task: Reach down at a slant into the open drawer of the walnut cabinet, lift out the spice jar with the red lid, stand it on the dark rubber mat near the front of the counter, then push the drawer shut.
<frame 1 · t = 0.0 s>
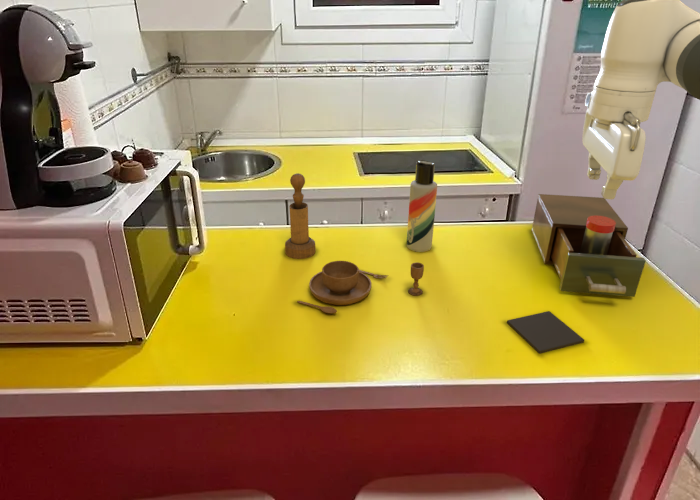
hand: (599, 187, 89), 22 cm above the counter, tool pointing down, fingers open, 8 cm apart
cabinet: (570, 249, 117), on the counter
drawer: (593, 261, 101), point 5 cm above the counter, slide at 11.0 cm, touching spice jar
lotion bottle: (418, 247, 117), on the counter
mat: (544, 332, 89), on the counter
mortar and pestle: (300, 252, 114), on the counter
place setting: (359, 297, 99), on the counter
spice jar: (588, 270, 104), point 2 cm above the counter, touching drawer
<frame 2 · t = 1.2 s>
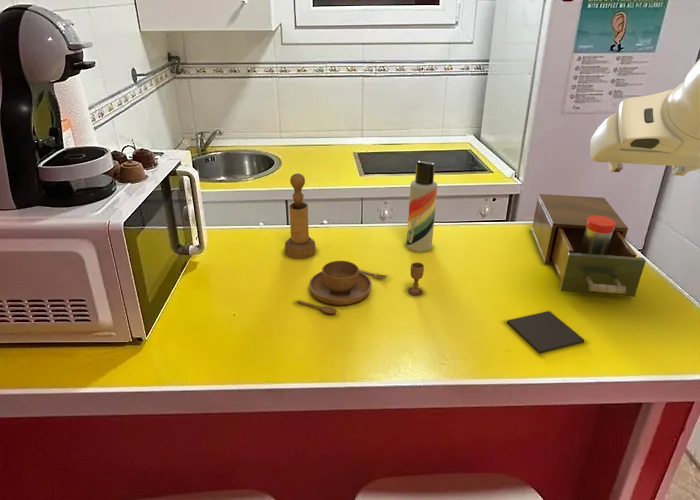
hand: (645, 169, 82), 27 cm above the counter, tool tilted 45°, fingers open, 8 cm apart
nothing on the counter moved.
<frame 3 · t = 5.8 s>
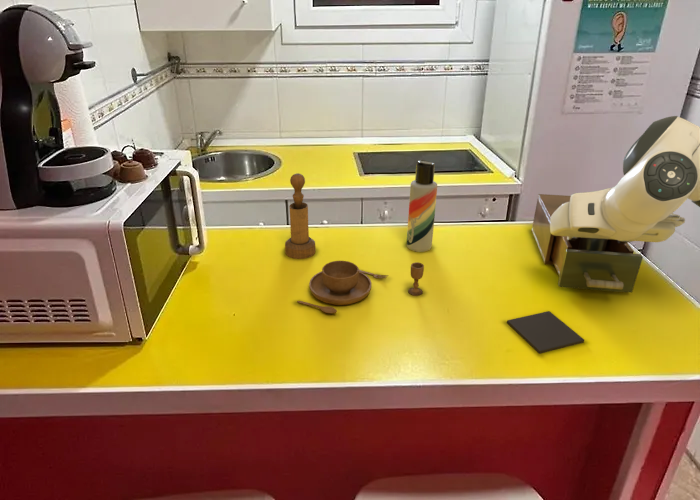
hand: (595, 238, 101), 9 cm above the counter, tool tilted 45°
drawer: (591, 258, 103), point 5 cm above the counter, slide at 9.5 cm, touching gripper, spice jar
spice jar: (586, 267, 105), point 2 cm above the counter, touching drawer
everything else where it was.
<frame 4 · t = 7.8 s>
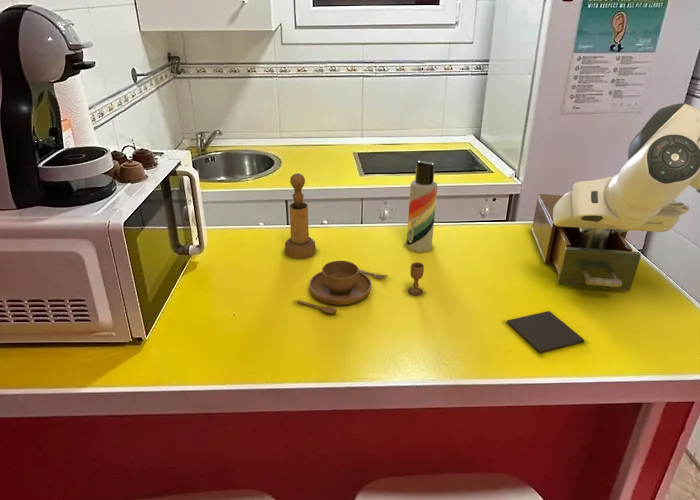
hand: (599, 229, 100), 11 cm above the counter, tool tilted 45°, fingers closed on spice jar, 4 cm apart
drawer: (590, 256, 103), point 5 cm above the counter, slide at 8.7 cm
spice jar: (589, 258, 105), point 4 cm above the counter, touching gripper
everything else where it was.
when the fingers open (8 cm above the counter, at t = 17.2 s): spice jar stays where it is, resting on mat.
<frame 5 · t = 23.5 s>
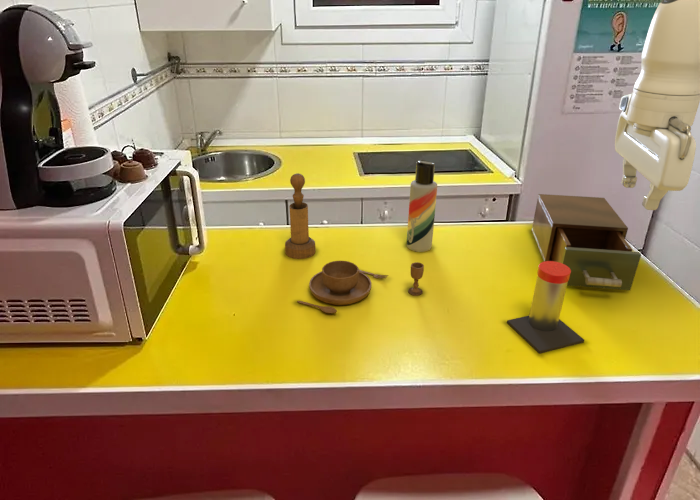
hand: (637, 196, 83), 23 cm above the counter, tool pointing down, fingers open, 8 cm apart
spice jar: (542, 323, 90), point 1 cm above the counter, touching mat
everything else where it was.
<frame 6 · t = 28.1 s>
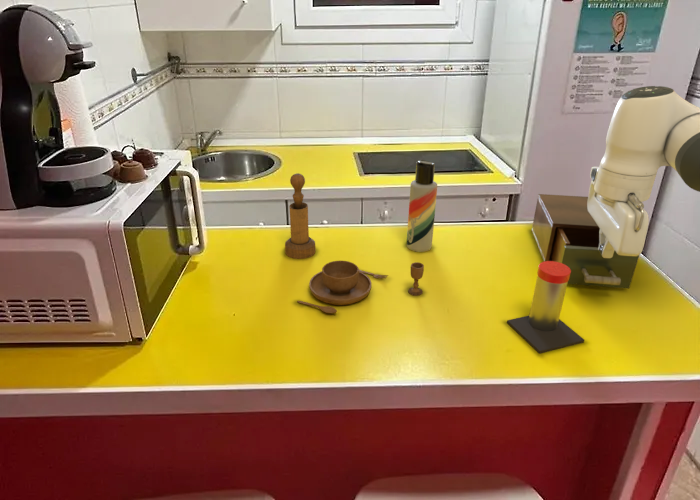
hand: (604, 254, 96), 9 cm above the counter, tool pointing down, fingers closed
drawer: (589, 254, 104), point 5 cm above the counter, slide at 8.0 cm, touching gripper
everything else where it was.
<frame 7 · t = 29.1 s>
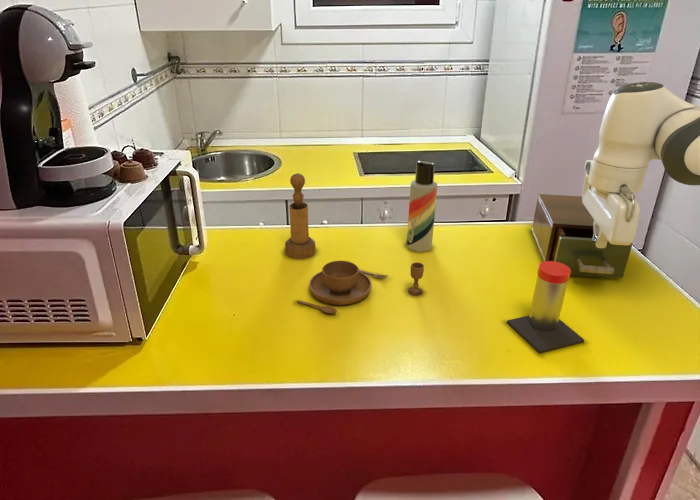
hand: (598, 244, 100), 9 cm above the counter, tool pointing down, fingers closed
drawer: (584, 245, 108), point 5 cm above the counter, slide at 4.0 cm, touching gripper
everything else where it was.
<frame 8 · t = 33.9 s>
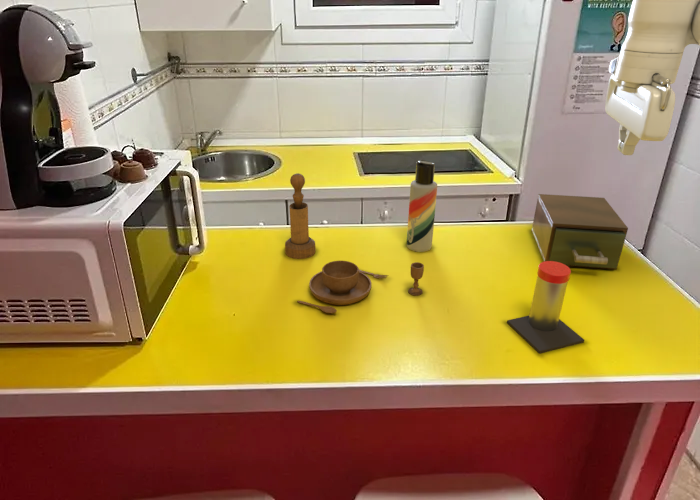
hand: (624, 152, 90), 27 cm above the counter, tool pointing down, fingers closed
drawer: (579, 237, 111), point 5 cm above the counter, slide at 0.1 cm
everything else where it was.
at the end: spice jar inside the target area on the mat (1.9 cm from its centre), point 0.6 cm above the mat's base; spice jar tilted 0°; drawer slide at 0.1 cm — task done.
